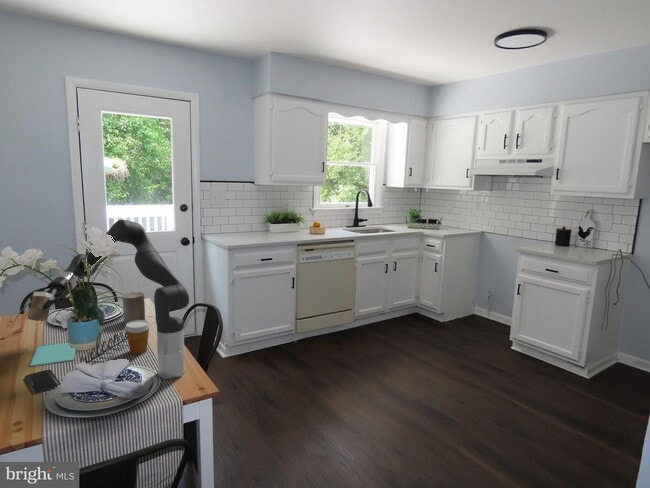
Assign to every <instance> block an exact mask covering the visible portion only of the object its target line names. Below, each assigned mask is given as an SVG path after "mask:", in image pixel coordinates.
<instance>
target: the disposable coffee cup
mask: <svg viewBox="0 0 650 488" xmlns="http://www.w3.org/2000/svg"><path fill="white" fill-rule="evenodd" d="M124 329H125V332H126V335H127V341H128V348H129V353H130V354H131V355H136V356H137V355H142V354H145V353H146V352H147V351H148V345H149V344H148V343H149V335H150V329H151V324H150V321H148V320H146V319H145V320H136V321H131V322H129V323H127V324H125V327H124Z"/></svg>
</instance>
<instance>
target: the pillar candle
mask: <svg viewBox="0 0 650 488" xmlns="http://www.w3.org/2000/svg"><path fill="white" fill-rule="evenodd" d="M145 305H146V303H145V293H144V292H142V291H141V292H140V291H133V292H128V293H124V294H123V295H122V309H123V310H122V311H123V312H122V314H123V323H124V325H126V324H127V323H129V322H131V321H136V320H146V308H145Z"/></svg>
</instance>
